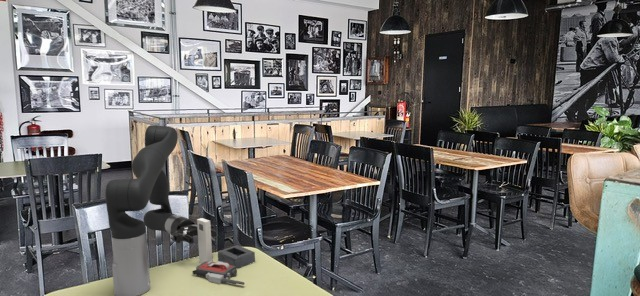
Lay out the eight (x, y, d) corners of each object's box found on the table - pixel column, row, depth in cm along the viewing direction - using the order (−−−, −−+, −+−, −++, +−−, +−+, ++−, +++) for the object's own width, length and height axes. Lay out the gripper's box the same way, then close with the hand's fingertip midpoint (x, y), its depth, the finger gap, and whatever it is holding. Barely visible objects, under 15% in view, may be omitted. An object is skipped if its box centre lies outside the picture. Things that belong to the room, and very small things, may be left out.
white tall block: (199, 262, 148) (196, 219, 146) (204, 260, 149) (202, 217, 147) (207, 266, 144) (204, 222, 142) (212, 264, 146) (210, 220, 144)
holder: (218, 261, 148) (217, 251, 148) (237, 254, 154) (237, 244, 154) (235, 269, 142) (234, 259, 141) (255, 261, 147) (254, 252, 147)
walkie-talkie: (187, 279, 136) (242, 289, 128) (186, 265, 135) (241, 275, 127) (205, 268, 144) (257, 277, 136) (204, 255, 143) (257, 264, 135)
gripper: (160, 221, 151) (184, 231, 140) (196, 212, 161) (221, 221, 150) (161, 242, 152) (185, 254, 141) (198, 232, 163) (222, 242, 151)
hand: (204, 237), depth 146 cm, fingers open, 8 cm apart
